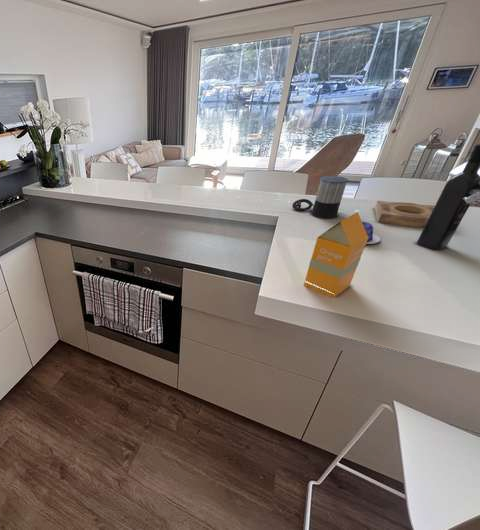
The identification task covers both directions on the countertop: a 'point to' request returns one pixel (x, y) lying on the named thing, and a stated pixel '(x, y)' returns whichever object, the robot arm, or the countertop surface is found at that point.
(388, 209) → the bottle stand
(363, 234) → the orange juice
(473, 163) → the wine bottle
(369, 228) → the pudding
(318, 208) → the milk frother
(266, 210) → the countertop surface
